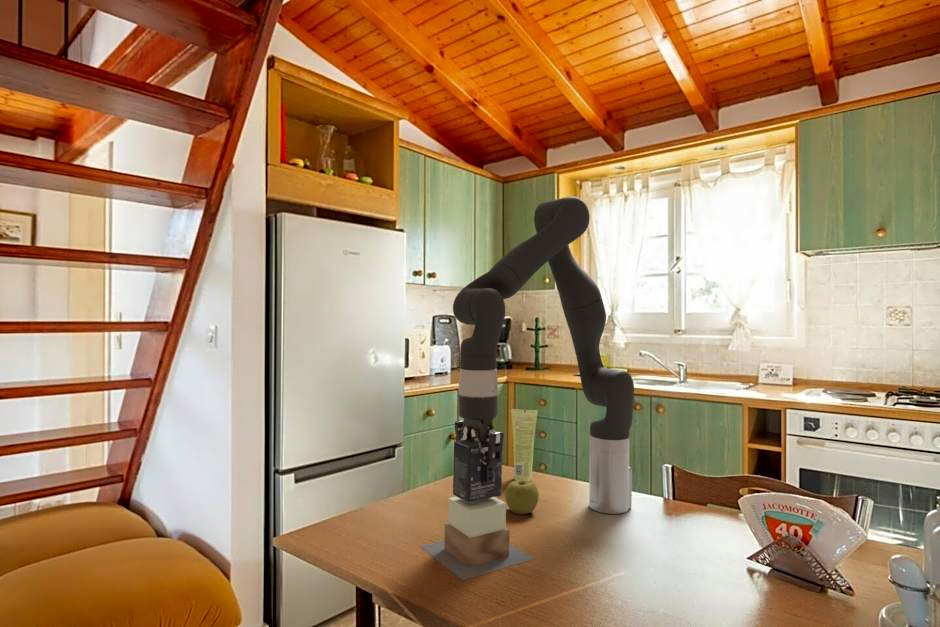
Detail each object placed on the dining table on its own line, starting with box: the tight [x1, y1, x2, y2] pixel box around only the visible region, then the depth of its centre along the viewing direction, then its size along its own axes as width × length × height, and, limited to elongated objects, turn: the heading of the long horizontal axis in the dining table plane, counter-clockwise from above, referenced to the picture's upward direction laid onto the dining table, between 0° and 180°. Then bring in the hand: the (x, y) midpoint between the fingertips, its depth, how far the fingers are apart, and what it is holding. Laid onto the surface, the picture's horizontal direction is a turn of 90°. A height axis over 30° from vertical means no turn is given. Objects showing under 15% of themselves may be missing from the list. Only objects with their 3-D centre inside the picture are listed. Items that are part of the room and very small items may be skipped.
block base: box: [444, 522, 510, 567], centre depth 106 cm, size 9×9×5 cm
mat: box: [420, 539, 536, 581], centre depth 106 cm, size 16×16×1 cm
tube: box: [510, 408, 539, 482], centre depth 153 cm, size 6×5×20 cm
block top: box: [447, 495, 507, 538], centre depth 106 cm, size 8×8×5 cm
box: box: [452, 439, 503, 503], centre depth 106 cm, size 8×6×11 cm
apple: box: [504, 480, 539, 515], centre depth 128 cm, size 8×8×7 cm
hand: (477, 479), depth 106 cm, fingers closed on box, 5 cm apart
